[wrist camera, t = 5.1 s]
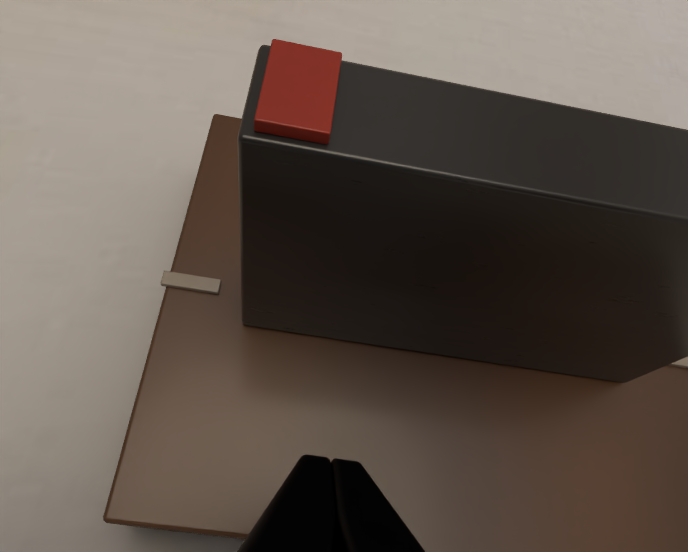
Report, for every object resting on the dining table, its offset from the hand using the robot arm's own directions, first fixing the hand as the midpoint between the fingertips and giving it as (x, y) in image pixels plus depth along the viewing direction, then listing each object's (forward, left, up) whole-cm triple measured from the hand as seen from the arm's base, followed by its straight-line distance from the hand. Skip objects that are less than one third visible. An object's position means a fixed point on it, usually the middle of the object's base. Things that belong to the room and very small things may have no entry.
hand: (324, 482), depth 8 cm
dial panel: (+3, -5, -7) cm, 9 cm away
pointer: (+3, -5, -4) cm, 7 cm away
